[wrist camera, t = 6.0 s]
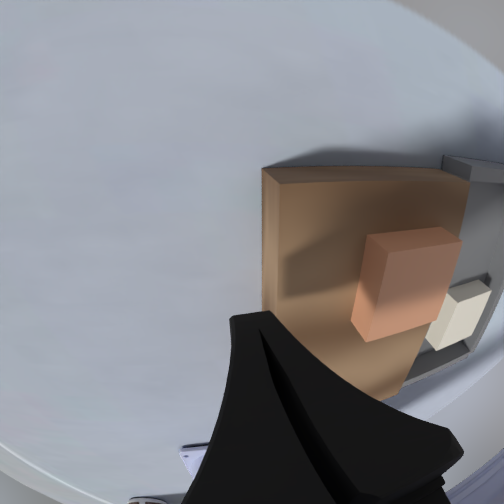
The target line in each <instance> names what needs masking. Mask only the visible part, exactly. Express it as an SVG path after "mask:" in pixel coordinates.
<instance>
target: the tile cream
mask: <svg viewBox="0 0 504 504" xmlns="http://www.w3.org/2000/svg"><path fill="white" fill-rule="evenodd" d="M491 291H492V290H491V289H490V288H489V287H487V286H486V285H485V284H484V283H483V282H481V281H480V280H475V281H472V282H469V283H466V284H462V285H459V286H456V287H452V288H449V289H448V291H447V294H446V297H445V299H444V302H443V305H442V307H441V310H440V313H439V315H438V318H437V320H436V321H433V322H432V323H431V325H430V328H429V330H428V332H427V335H426V337H425V338H426V339H427V340H428V342H429V343H430V344H431V345H432V346H433V348H434V349H435V350H436V351H437V350H440V349H442V348H444V347H447V346H449V345H451V344H454V343H456V342H458V341H460V340H462V339H464V338H467V337H469V336H471V335H472V333H473V331H474V329H475V327H476V325H477V323H478V321H479V319H480V316H481V314H482V312H483V310H484V308H485V305H486V303H487V301H488V298H489V296H490V293H491Z"/></svg>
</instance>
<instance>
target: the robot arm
mask: <svg viewBox="0 0 504 504" xmlns="http://www.w3.org/2000/svg"><path fill="white" fill-rule="evenodd" d="M229 321H230V333H231V356H230V365H229V372H228V377H227V382H226V388H225V392H224V397H223V401H222V405H221V408H220V412H219V415H218V419H217V422H216V425H215V428H214V431H213V434H212V437H211V440H210V443H209V445H208V446H201V447H191V448H182V449H180V450H179V455H180V457H181V458H182V460H183V462H184V464H185V466H186V467H187V469H188V471H189V473H190V474H191V476H192V478H193V482H192V484H191V486H190V488H189V490H188V492H187V494H186V496H185V497H184V499H183V501H182V503H181V504H504V448H503V449H502V450H501V451H500V452H499V453H498V454H497V455H495V456H494V457H493V458H492V459H491V460H489V461H488V462H487V463H486V464H484V465H483V466H482V467H481V468H479V469H478V470H477V471H475V472H474V473H473V474H472V475H470V476H469V477H467V478H466V479H465V480H463V481H462V482H460V483H459V484H458V485H456V486H455V487H453V488H452V489H450V490H449V491H447V492H446V493H445V492H444V490H443V488H442V486H443V485H444V484H445V481H444V479H443V477H442V476H441V475H442V474H443V473H444V472H446V471H447V470H448V469H449V468H450V467H452V466H453V465H454V464H455V463H456V462H457V461H458V460H459V459H460V458H461V457H462V456H463V454H464V451H463V449H462V447H461V446H460V444H459V442H458V441H457V439H456V438H455V436H454V435H453V434H452V432H451V431H450V430H449V429H448V428H445V427H442V426H439V425H436V424H432V423H429V422H426V421H423V420H420V419H417V418H415V417H412V416H410V415H407V414H405V413H403V412H400V411H398V410H396V409H394V408H392V407H390V406H388V405H386V404H384V403H382V402H380V401H378V400H376V399H374V398H373V397H371V396H369V395H367V394H366V393H364V392H362V391H361V390H359V389H358V388H356V387H355V386H353V385H352V384H350V383H349V382H347V381H346V380H344V379H343V378H341V377H340V376H339V375H337V374H336V373H335V372H334V371H332V370H331V369H330V368H328V367H327V366H326V365H325V364H324V363H322V362H321V361H320V360H319V359H318V358H317V357H315V356H314V355H313V354H312V353H311V352H310V351H309V350H308V349H307V348H306V347H305V346H304V345H302V344H301V343H300V342H299V341H298V340H297V339H296V338H295V337H294V336H293V335H292V334H291V333H290V331H289V330H288V329H287V328H286V327H285V326H284V325H283V324H282V323H281V322H280V321H279V319H278V318H277V317H276V316H275V315H274V314H273V313H272V312H271V311H270V310H268V311H261V312H255V313H248V314H241V315H234V316H232V317H231V318H230V319H229Z"/></svg>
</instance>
